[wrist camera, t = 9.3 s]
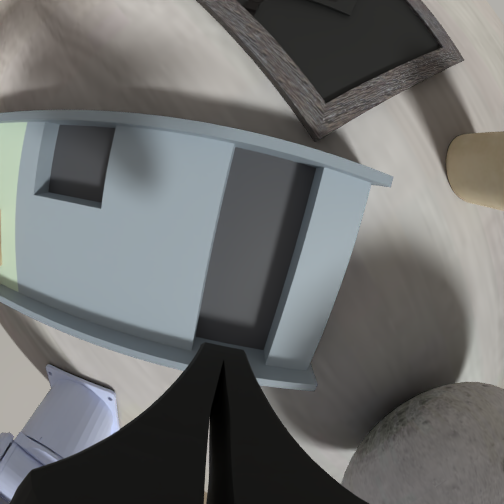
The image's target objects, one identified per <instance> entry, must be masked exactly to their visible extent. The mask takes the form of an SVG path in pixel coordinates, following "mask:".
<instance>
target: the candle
mask: <svg viewBox="0 0 504 504" xmlns="http://www.w3.org/2000/svg"><path fill="white" fill-rule="evenodd" d="M446 170H447V176H448V180H449V183H450V185H451V187H452V189H453V191H454V192H455V194H456V195H457V196H458V197H459V198H460V199H462V200H464V201H466V202H469V203H473V204H477V205H481V206H486V207H490V208H494V209H498V210H502V211H504V132H486V133H472V134H463V135H460V136H458V137H456V138H455V139H454V140H453V141H452V142H451V144H450V146H449V148H448V152H447V157H446Z"/></svg>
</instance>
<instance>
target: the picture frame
mask: <svg viewBox="0 0 504 504" xmlns="http://www.w3.org/2000/svg"><path fill="white" fill-rule="evenodd" d="M196 1H198V2H199V3H200V4H201V5H202V6H203V7H204V8H205V9H206V10H207V11H208V12H209V13H210V14H211V15H212V16H213V17H214V18H215V19H216V20H217V21H218V22H219V23H220V24H221V25H222V26H223V27H224V28H225V29H226V30H227V31H228V33H229V34H230V35H231V36H232V37H233V38H234V39H235V40H236V41H237V42H238V43H239V45H240V46H241V47H242V48H243V49H244V50H245V51H246V52H247V54H248V55H249V56H250V57H251V58H252V59H253V61H254V62H255V63H256V64H257V65H258V66H259V68H260V69H261V70H262V71H263V73H264V74H265V75H266V76H267V77H268V79H269V80H270V81H271V82H272V84H273V85H274V86H275V87H276V89H277V90H278V91H279V93H280V94H281V95H282V97H283V98H284V99H285V101H286V102H287V103H288V105H289V106H290V107H291V109H292V110H293V111H294V113H295V114H296V115H297V117H298V118H299V120H300V121H301V122H302V124H303V125H304V127H305V128H306V130H307V131H308V132H309V134H310V135H311V137H312V138H313V140H314V141H317V140H319V139H321V138H323V137H324V136H326V135H328V134H329V133H331V132H332V131H334V130H336V129H337V128H339V127H341V126H342V125H344V124H346V123H347V122H349V121H351V120H352V119H354V118H356V117H358V116H359V115H361V114H363V113H364V112H366V111H368V110H370V109H371V108H373V107H375V106H377V105H378V104H380V103H382V102H384V101H386V100H387V99H389V98H391V97H393V96H395V95H397V94H398V93H400V92H402V91H404V90H406V89H408V88H410V87H411V86H413V85H415V84H417V83H419V82H421V81H423V80H425V79H427V78H429V77H431V76H433V75H435V74H437V73H439V72H441V71H443V70H445V69H447V68H449V67H451V66H453V65H455V64H457V63H460V62H462V61H464V59H463V57H462V56H461V54H460V52H459V51H458V49H457V48H456V46H455V45H454V43H453V42H452V40H451V39H450V37H449V36H448V34H447V33H446V31H445V30H444V29H443V27H442V26H441V25H440V23H439V22H438V21H437V19H436V18H435V17H434V15H433V14H432V13H431V12H430V10H429V9H428V8H427V7H426V5H425V4H424V3H423V2H422V1H421V0H196Z"/></svg>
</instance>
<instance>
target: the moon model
mask: <svg viewBox="0 0 504 504" xmlns="http://www.w3.org/2000/svg"><path fill="white" fill-rule="evenodd" d="M341 485H342V486H344V487H345V488H346V489H348V490H349V491H350V492H352V493H353V494H355V495H356V496H358V497H359V498H361V499H362V500H364V501H366V502H368V503H369V504H504V389H502V388H499V387H497V386H494V385H491V384H485V383H480V382H461V383H454V384H448V385H444V386H441V387H437V388H434V389H431V390H428V391H426V392H424V393H422V394H420V395H418V396H416V397H414V398H412V399H410V400H408V401H407V402H405V403H403V404H402V405H400V406H399V407H397V408H396V409H395V410H393V411H392V412H391V413H390V414H388V415H387V416H386V417H385V418H384V419H382V420H381V421H380V422H379V423H378V424H377V425H376V426H375V427H374V428H373V429H372V430H371V432H370V433H369V434H368V435H367V436H366V438H365V439H364V440H363V441H362V443H361V444H360V445H359V447H358V449H357V450H356V452H355V453H354V455H353V457H352V458H351V460H350V463H349V465H348V467H347V469H346V471H345V474H344V477H343V480H342V483H341Z"/></svg>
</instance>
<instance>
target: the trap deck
mask: <svg viewBox="0 0 504 504" xmlns="http://www.w3.org/2000/svg"><path fill="white" fill-rule="evenodd" d="M392 180H393V176H390V175H388V174H385V173H383V172H380V171H378V170H375V169H372V168H370V167H367V166H364V165H362V164H359V163H356V162H353V161H350V160H347V159H345V158H342V157H339V156H336V155H333V154H330V153H326V152H323V151H320V150H317V149H314V148H310V147H307V146H303V145H300V144H297V143H293V142H289V141H286V140H282V139H278V138H274V137H270V136H266V135H262V134H258V133H254V132H249V131H245V130H240V129H236V128H231V127H226V126H221V125H216V124H211V123H205V122H199V121H193V120H187V119H180V118H173V117H166V116H158V115H149V114H140V113H129V112H116V111H99V110H33V111H17V112H6V113H0V210H1V252H2V265H1V266H0V302H2V303H3V304H5V305H7V306H9V307H11V308H13V309H15V310H17V311H19V312H21V313H23V314H25V315H27V316H29V317H31V318H33V319H35V320H37V321H39V322H41V323H44V324H46V325H48V326H50V327H53V328H55V329H57V330H60V331H62V332H64V333H67V334H69V335H72V336H74V337H77V338H79V339H82V340H84V341H87V342H90V343H92V344H95V345H98V346H101V347H104V348H106V349H109V350H112V351H115V352H118V353H121V354H124V355H128V356H131V357H134V358H137V359H141V360H144V361H148V362H151V363H155V364H158V365H162V366H166V367H170V368H174V369H178V370H182V371H184V370H185V369H186V368H187V367H188V365H189V364H190V362H191V361H192V360H193V358H194V357H195V355H196V353H197V352H198V350H199V348H200V345H201V344H202V343H204V342H207V343H212V344H216V345H221V346H226V347H231V348H237V349H242V350H244V351H245V353H246V355H247V358H248V361H249V363H250V366H251V368H252V371H253V373H254V375H255V377H256V379H257V381H258V383H259V385H261V386H269V387H277V388H285V389H295V390H305V391H315V389H316V387H317V385H318V384H317V381H316V378H315V375H314V372H313V369H312V366H311V363H310V362H311V360H312V357H313V355H314V353H315V350H316V348H317V346H318V343H319V341H320V338H321V336H322V334H323V331H324V329H325V326H326V324H327V321H328V318H329V316H330V313H331V311H332V308H333V305H334V303H335V300H336V297H337V294H338V292H339V289H340V286H341V283H342V280H343V278H344V275H345V272H346V269H347V266H348V263H349V260H350V257H351V253H352V250H353V247H354V244H355V241H356V237H357V234H358V231H359V227H360V224H361V221H362V217H363V213H364V210H365V206H366V203H367V199H368V195H369V191H370V187H371V185H377V186H385V187H391V184H392Z"/></svg>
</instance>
